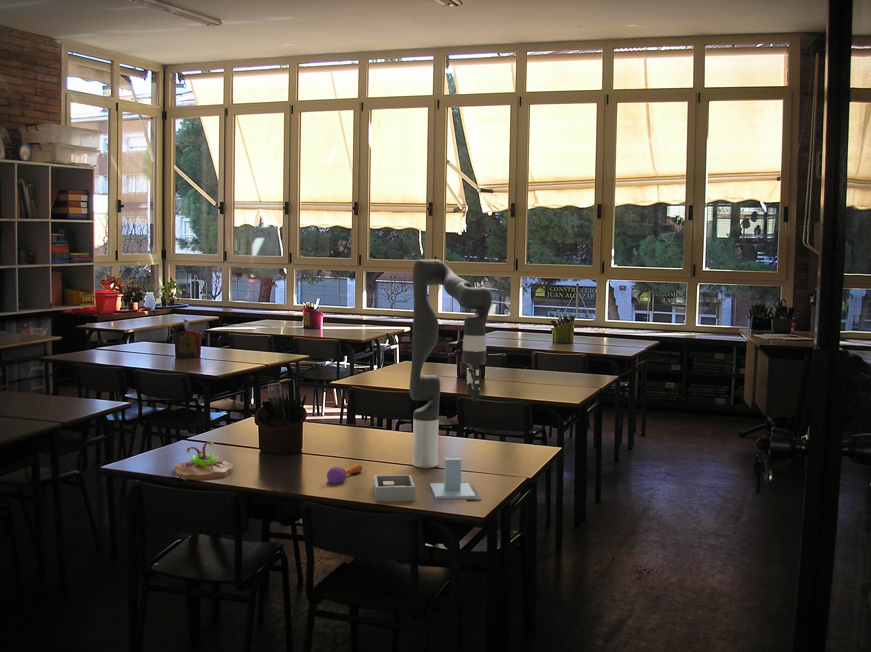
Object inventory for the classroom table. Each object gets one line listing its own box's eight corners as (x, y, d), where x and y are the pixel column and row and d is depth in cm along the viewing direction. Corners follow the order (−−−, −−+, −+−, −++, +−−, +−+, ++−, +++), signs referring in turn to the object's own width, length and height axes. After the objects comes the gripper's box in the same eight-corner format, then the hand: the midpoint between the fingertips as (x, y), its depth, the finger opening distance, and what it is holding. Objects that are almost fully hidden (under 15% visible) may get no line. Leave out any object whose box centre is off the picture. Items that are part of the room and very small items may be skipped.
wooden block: (382, 490, 258) (382, 481, 257) (393, 490, 258) (393, 481, 258) (383, 493, 254) (383, 484, 254) (394, 493, 254) (394, 484, 254)
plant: (235, 479, 272) (235, 446, 271) (174, 483, 266) (174, 449, 265) (231, 464, 291) (231, 434, 290) (175, 468, 285) (174, 436, 284)
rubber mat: (431, 487, 265) (431, 485, 265) (472, 486, 266) (472, 485, 266) (436, 501, 249) (436, 500, 249) (481, 500, 250) (481, 499, 250)
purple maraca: (367, 462, 281) (341, 471, 262) (363, 478, 282) (337, 488, 263) (352, 457, 283) (325, 465, 264) (348, 473, 284) (321, 483, 265)
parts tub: (373, 490, 259) (374, 475, 259) (410, 489, 261) (411, 474, 260) (375, 503, 246) (375, 487, 245) (414, 502, 247) (414, 486, 247)
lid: (430, 486, 264) (430, 453, 263) (467, 485, 265) (468, 453, 265) (435, 499, 249) (436, 464, 249) (475, 498, 251) (476, 464, 250)
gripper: (459, 346, 266) (458, 394, 267) (466, 351, 252) (465, 402, 253) (482, 346, 267) (480, 394, 268) (489, 351, 253) (488, 402, 254)
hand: (473, 398), depth 261 cm, fingers open, 8 cm apart
